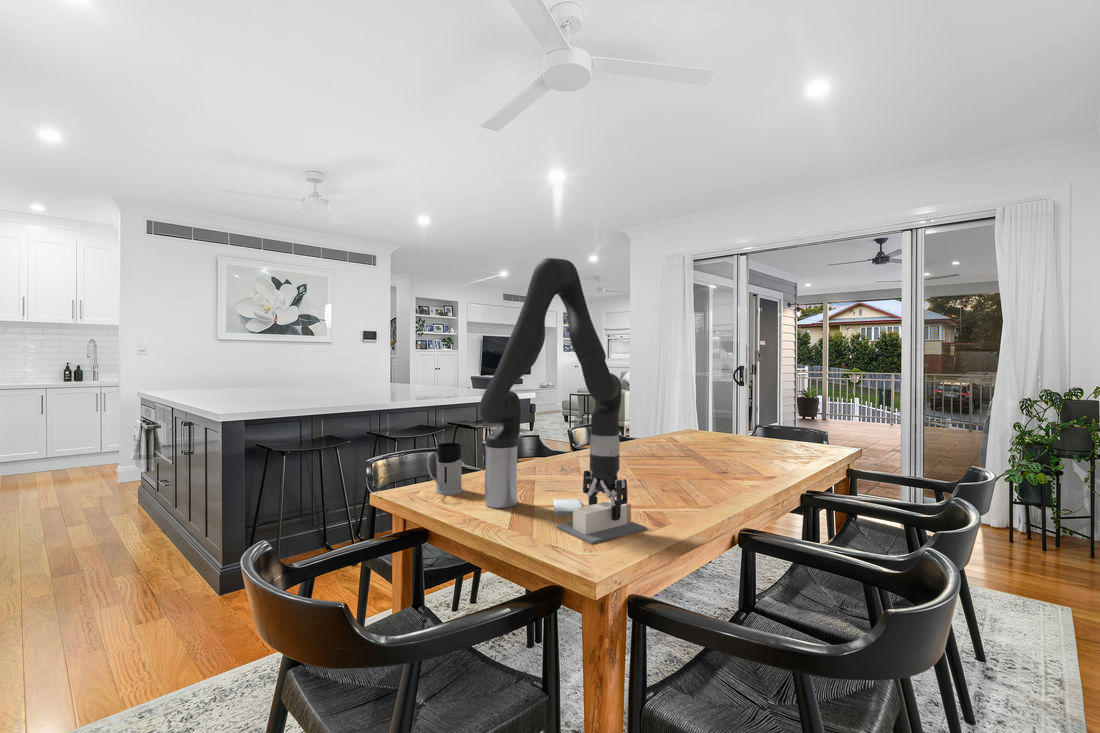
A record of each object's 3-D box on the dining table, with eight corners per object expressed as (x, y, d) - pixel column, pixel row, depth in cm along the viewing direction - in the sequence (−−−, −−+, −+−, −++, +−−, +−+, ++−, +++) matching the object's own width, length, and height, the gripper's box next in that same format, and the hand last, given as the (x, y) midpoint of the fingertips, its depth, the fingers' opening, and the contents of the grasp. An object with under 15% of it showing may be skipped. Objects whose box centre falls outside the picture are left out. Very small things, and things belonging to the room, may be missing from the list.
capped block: (573, 508, 127) (617, 499, 135) (572, 528, 127) (617, 518, 135) (585, 513, 123) (631, 503, 131) (585, 534, 123) (630, 523, 131)
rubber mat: (556, 527, 129) (556, 525, 129) (609, 515, 140) (609, 513, 140) (591, 544, 118) (591, 541, 118) (646, 529, 128) (646, 527, 128)
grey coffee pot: (468, 490, 166) (468, 444, 166) (438, 500, 154) (438, 450, 153) (447, 486, 170) (448, 441, 170) (417, 496, 158) (417, 448, 158)
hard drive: (584, 511, 140) (580, 498, 152) (554, 511, 140) (552, 498, 152) (584, 517, 140) (580, 504, 152) (554, 517, 140) (552, 504, 152)
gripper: (575, 449, 133) (575, 511, 133) (612, 458, 121) (612, 526, 122) (597, 446, 137) (596, 506, 137) (635, 455, 126) (634, 520, 126)
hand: (604, 515), depth 129 cm, fingers open, 8 cm apart
